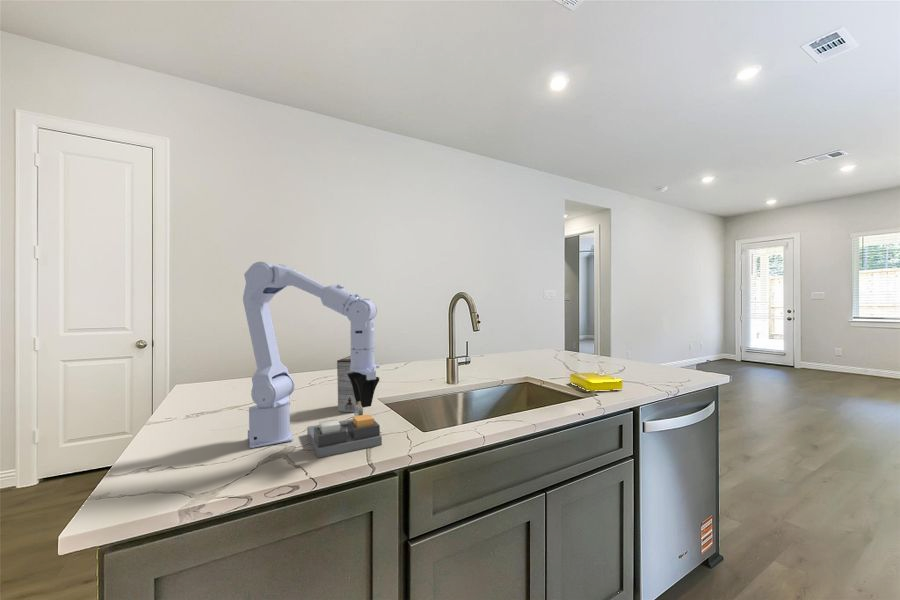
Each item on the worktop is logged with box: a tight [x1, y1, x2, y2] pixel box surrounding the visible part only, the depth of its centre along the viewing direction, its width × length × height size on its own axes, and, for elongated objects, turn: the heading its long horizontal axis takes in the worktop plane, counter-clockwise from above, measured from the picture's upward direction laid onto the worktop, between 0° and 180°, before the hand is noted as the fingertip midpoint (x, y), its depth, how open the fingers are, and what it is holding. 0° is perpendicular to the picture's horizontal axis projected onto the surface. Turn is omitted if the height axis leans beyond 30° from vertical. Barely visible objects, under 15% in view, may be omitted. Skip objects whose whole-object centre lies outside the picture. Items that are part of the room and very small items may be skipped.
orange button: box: [352, 413, 375, 428], centre depth 91 cm, size 4×4×2 cm
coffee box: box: [336, 355, 364, 413], centre depth 119 cm, size 9×6×16 cm
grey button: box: [318, 419, 340, 434], centre depth 87 cm, size 4×4×2 cm
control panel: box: [306, 418, 383, 459], centre depth 93 cm, size 15×16×4 cm
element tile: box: [569, 371, 624, 391], centre depth 145 cm, size 15×15×5 cm
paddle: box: [353, 405, 364, 416], centre depth 99 cm, size 1×4×4 cm, turn 29°
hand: (363, 403), depth 91 cm, fingers open, 5 cm apart
